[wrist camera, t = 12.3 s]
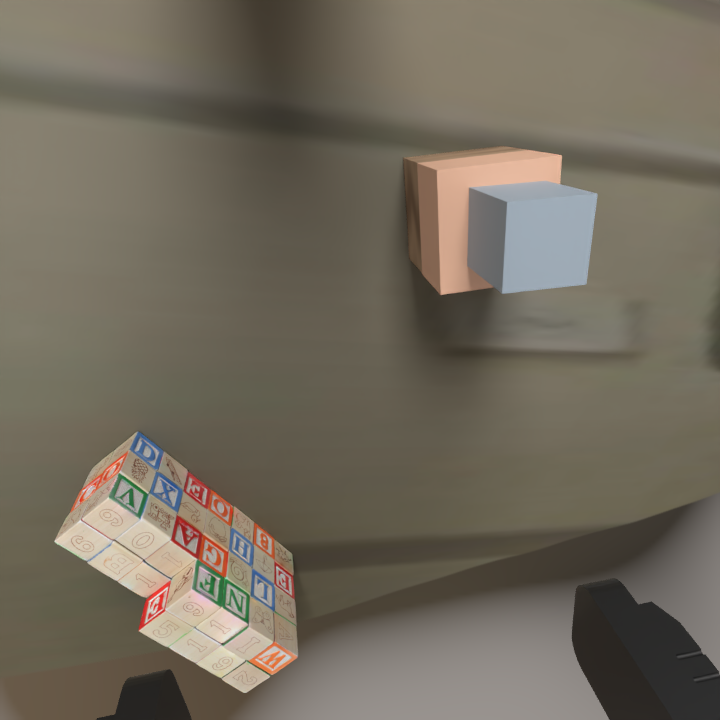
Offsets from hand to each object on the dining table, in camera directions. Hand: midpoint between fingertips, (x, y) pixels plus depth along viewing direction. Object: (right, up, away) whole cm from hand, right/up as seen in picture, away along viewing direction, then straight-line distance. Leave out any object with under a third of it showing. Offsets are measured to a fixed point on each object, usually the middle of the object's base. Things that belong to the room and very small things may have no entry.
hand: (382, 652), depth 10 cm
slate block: (+9, +15, +24) cm, 29 cm away
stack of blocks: (-16, -9, +42) cm, 46 cm away
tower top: (+8, +16, +28) cm, 34 cm away
